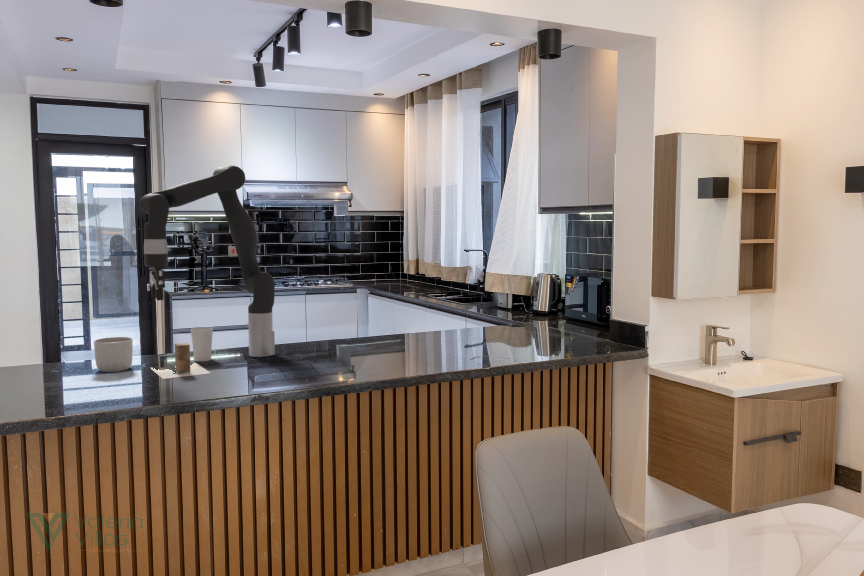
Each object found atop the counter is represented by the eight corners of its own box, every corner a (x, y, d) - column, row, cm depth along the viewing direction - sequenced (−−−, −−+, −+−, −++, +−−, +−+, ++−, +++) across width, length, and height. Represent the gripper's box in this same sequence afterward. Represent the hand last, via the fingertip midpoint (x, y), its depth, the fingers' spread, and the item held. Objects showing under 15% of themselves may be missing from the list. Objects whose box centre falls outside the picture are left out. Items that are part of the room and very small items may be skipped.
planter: (114, 375, 228) (113, 343, 227) (86, 372, 233) (85, 341, 232) (141, 368, 240) (140, 338, 239) (114, 365, 244) (113, 335, 243)
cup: (206, 362, 250) (205, 331, 249) (187, 361, 252) (186, 330, 250) (217, 358, 258) (216, 327, 257) (198, 357, 259) (197, 327, 258)
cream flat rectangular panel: (195, 363, 248) (195, 362, 248) (211, 373, 232) (211, 373, 232) (149, 368, 239) (149, 367, 239) (162, 379, 223) (162, 378, 223)
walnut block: (187, 370, 235) (186, 342, 234) (190, 372, 232) (189, 344, 231) (175, 372, 233) (174, 343, 232) (178, 374, 230) (177, 345, 229)
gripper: (171, 253, 226) (173, 300, 227) (163, 251, 237) (164, 296, 239) (148, 253, 222) (149, 301, 223) (140, 251, 233) (142, 297, 235)
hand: (157, 299), depth 231 cm, fingers open, 8 cm apart
